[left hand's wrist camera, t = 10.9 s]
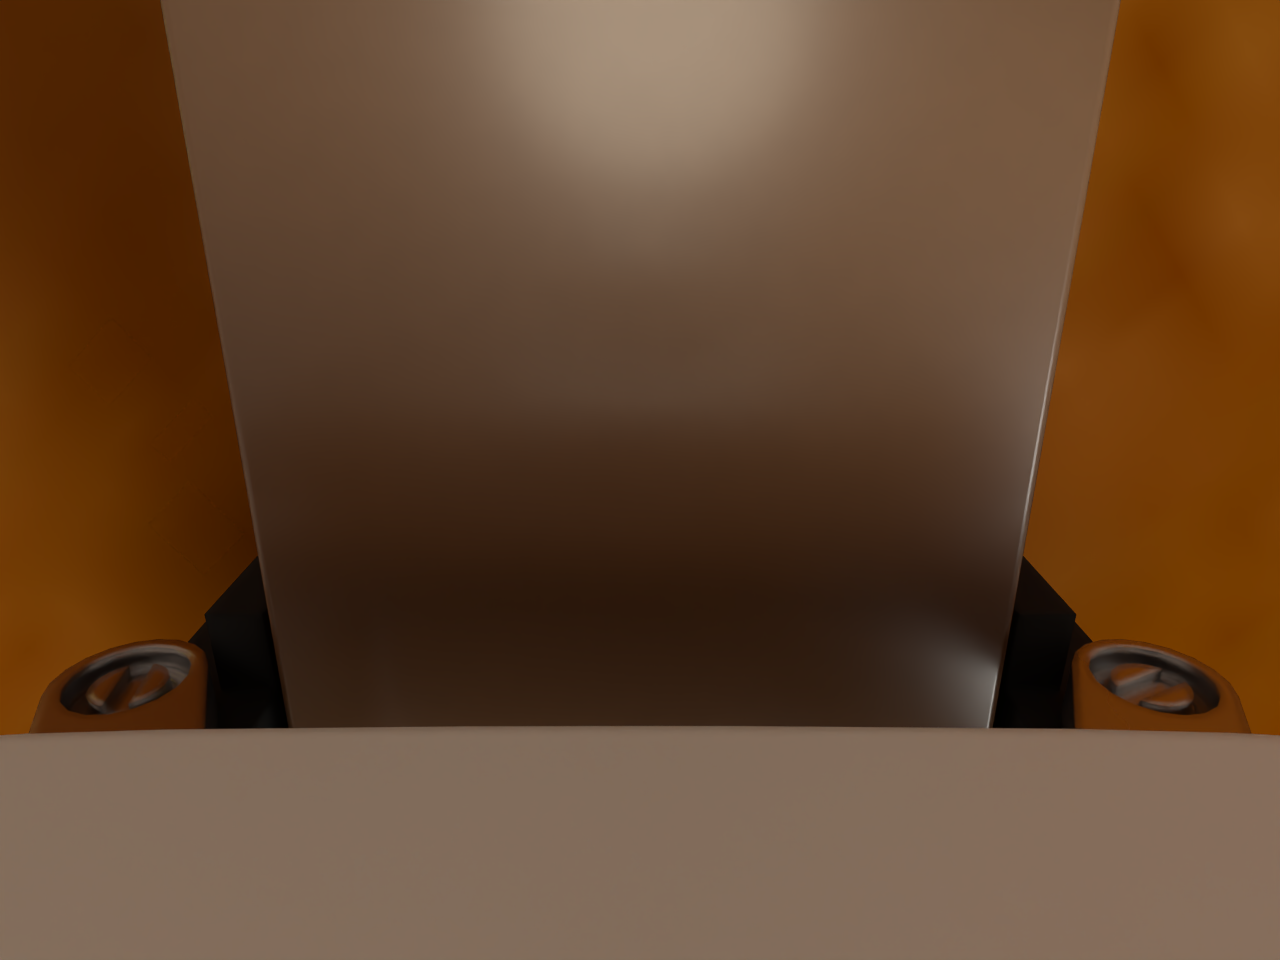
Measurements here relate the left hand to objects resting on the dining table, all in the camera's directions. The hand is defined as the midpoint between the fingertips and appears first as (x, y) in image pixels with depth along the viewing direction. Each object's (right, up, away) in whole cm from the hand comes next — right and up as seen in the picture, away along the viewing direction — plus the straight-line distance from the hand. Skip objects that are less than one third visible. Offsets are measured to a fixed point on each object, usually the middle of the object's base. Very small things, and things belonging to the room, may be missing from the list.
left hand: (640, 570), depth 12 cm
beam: (0, +20, -6) cm, 21 cm away
